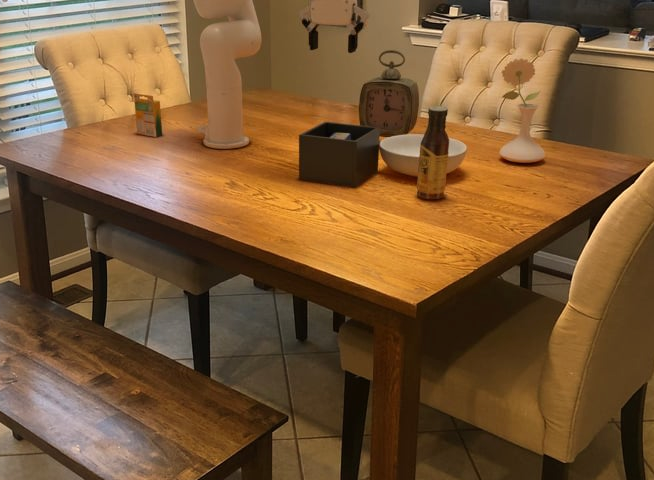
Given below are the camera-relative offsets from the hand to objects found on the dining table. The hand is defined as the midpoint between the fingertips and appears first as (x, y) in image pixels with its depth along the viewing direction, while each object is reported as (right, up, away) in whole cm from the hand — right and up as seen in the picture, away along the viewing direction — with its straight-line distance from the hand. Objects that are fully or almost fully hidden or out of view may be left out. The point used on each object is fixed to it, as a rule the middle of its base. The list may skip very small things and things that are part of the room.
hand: (332, 50), depth 189 cm
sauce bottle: (+22, -35, -7) cm, 42 cm away
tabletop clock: (+17, -15, +32) cm, 40 cm away
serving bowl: (+22, -27, +10) cm, 36 cm away
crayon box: (-50, -10, +45) cm, 68 cm away
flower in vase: (+48, -22, +19) cm, 57 cm away
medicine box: (+2, -27, +8) cm, 28 cm away
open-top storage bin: (+2, -28, +8) cm, 29 cm away
